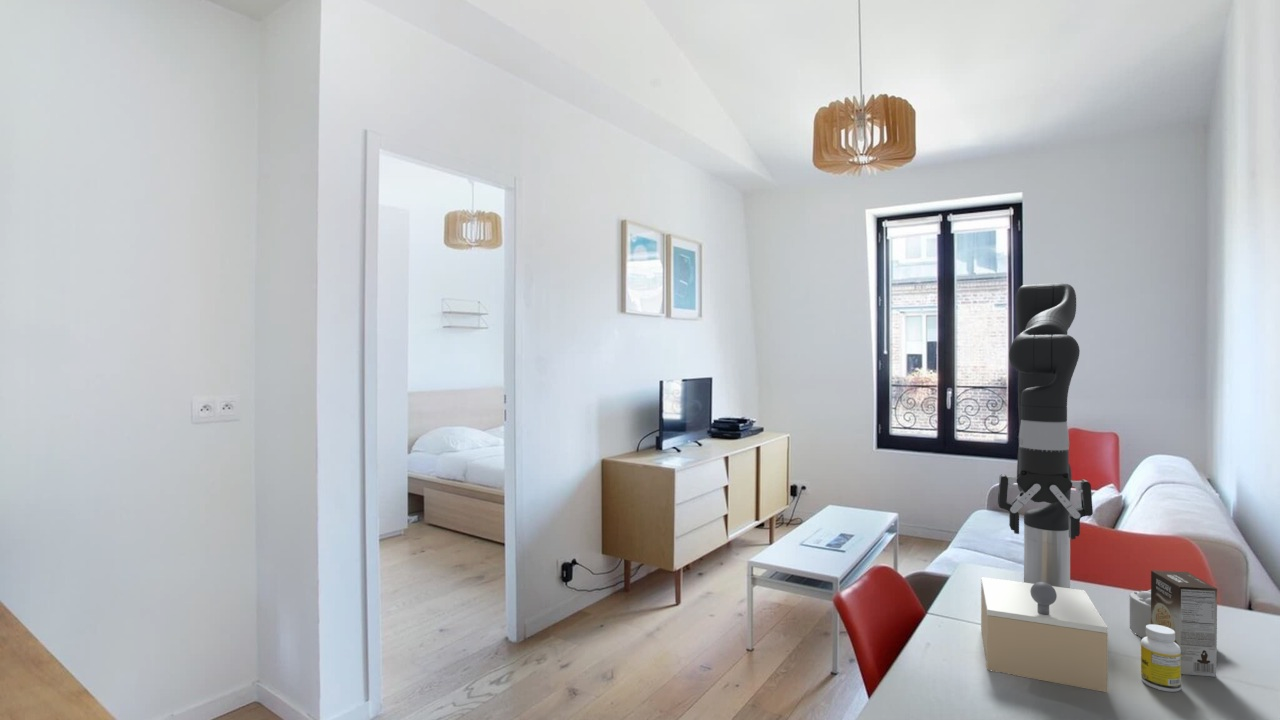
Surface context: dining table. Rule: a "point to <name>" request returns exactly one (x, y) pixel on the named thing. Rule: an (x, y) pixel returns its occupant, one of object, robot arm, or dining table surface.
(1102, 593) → the dining table surface
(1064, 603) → the lid
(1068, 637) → the carton
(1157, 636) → the supplement bottle
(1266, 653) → the dining table surface
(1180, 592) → the coffee box
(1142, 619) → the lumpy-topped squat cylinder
